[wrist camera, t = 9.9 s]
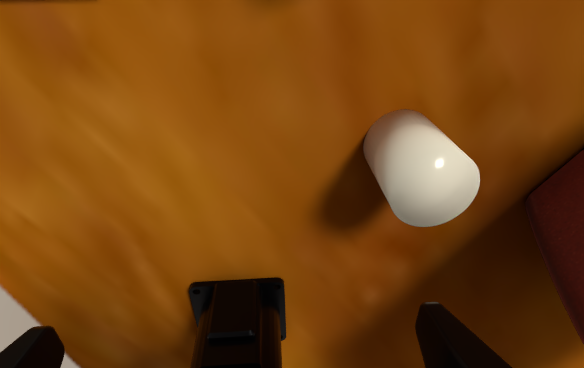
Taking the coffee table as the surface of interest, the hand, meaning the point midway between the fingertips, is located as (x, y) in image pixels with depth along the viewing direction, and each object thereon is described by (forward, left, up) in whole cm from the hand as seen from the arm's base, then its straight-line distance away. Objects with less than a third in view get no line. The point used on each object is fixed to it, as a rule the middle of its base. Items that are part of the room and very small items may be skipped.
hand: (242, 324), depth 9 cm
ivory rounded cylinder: (-1, -8, -12) cm, 14 cm away
